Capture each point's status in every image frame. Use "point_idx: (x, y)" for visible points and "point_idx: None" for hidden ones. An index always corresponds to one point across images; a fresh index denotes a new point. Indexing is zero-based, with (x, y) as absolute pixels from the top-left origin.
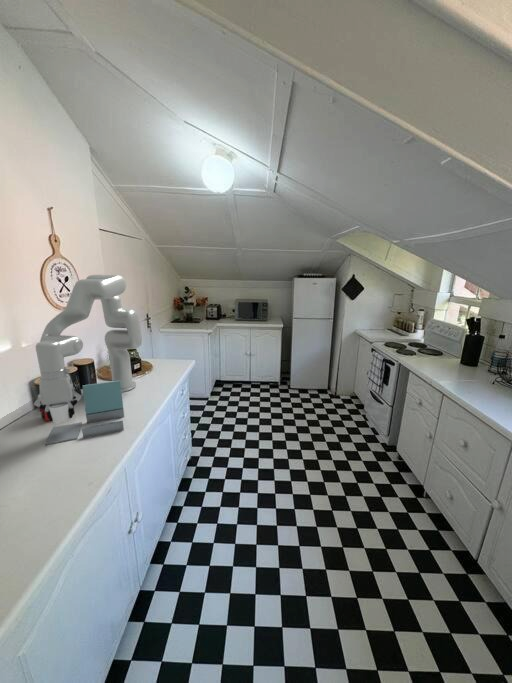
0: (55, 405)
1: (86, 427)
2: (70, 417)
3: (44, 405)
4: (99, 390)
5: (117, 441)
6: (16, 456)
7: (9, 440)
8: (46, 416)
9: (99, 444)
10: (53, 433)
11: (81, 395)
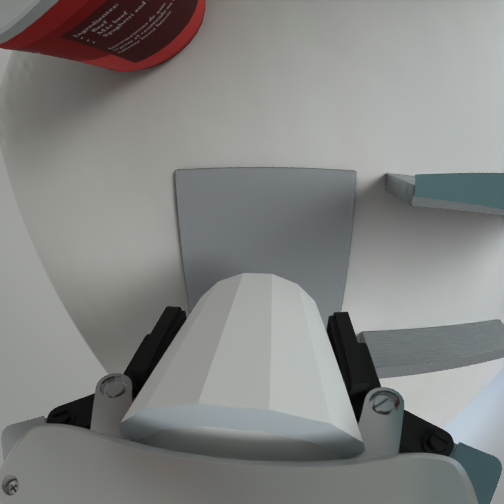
0: None
1: (393, 370)
2: None
3: (82, 427)
4: None
5: (452, 387)
6: (120, 360)
7: (35, 229)
8: (102, 66)
9: (404, 393)
10: (200, 258)
11: (500, 472)
